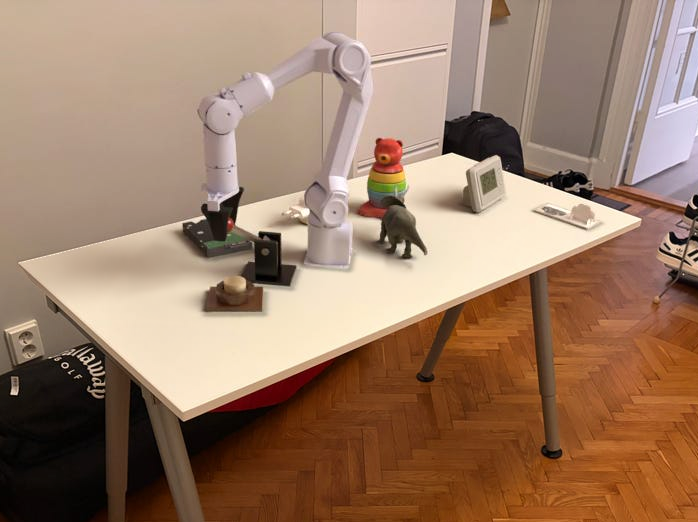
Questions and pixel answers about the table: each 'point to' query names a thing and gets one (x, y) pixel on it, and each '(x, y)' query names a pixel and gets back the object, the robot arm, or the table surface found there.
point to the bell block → (235, 299)
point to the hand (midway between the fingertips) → (225, 232)
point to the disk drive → (207, 244)
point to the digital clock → (484, 184)
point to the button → (234, 284)
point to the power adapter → (299, 211)
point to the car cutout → (571, 215)
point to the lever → (245, 232)
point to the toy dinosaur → (399, 225)
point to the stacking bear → (384, 176)
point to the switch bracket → (269, 263)
